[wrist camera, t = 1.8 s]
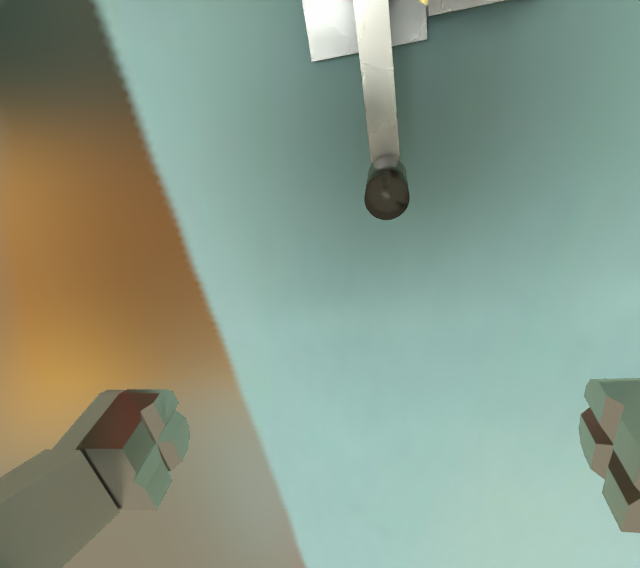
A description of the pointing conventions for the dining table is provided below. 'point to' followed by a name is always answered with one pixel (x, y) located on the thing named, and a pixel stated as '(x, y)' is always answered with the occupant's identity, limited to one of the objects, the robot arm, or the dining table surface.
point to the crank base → (340, 27)
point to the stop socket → (454, 5)
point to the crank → (380, 111)
